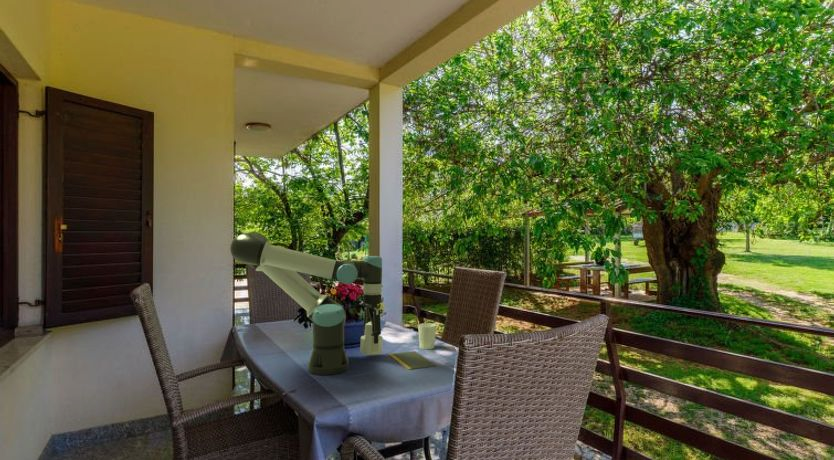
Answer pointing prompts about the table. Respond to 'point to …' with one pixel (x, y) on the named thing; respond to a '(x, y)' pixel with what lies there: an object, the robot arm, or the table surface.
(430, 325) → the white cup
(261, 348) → the table surface
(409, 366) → the mat
